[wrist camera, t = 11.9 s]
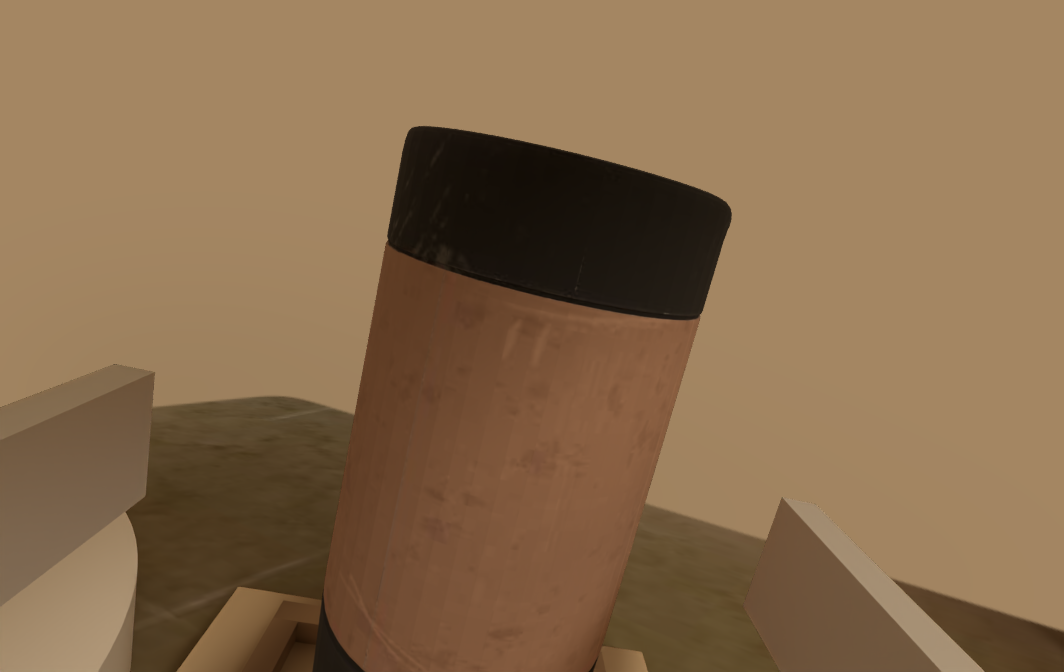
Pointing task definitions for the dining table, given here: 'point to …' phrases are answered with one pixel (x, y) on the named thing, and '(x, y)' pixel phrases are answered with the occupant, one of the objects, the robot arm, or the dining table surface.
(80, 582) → the ring with crossbar
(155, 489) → the dining table surface
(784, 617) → the robot arm
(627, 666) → the board
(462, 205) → the travel mug
